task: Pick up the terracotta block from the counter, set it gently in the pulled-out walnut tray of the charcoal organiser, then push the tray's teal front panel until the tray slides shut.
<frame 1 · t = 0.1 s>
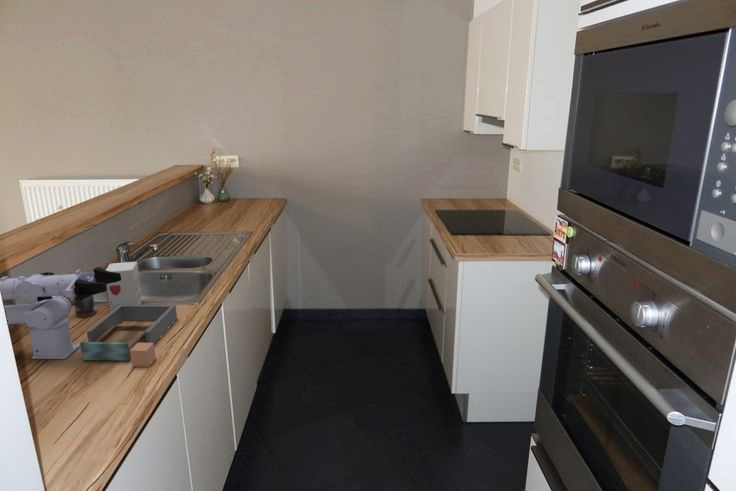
hand: (113, 281, 142), 22 cm above the table, tool horizontal, fingers open, 7 cm apart
tray: (119, 337, 152), point 3 cm above the table, slide at 8.0 cm
supplement box: (127, 307, 180), on the table
terracotta block: (144, 363, 143), on the table
organiser housing: (134, 334, 160), on the table
supplement bottle: (86, 314, 174), on the table
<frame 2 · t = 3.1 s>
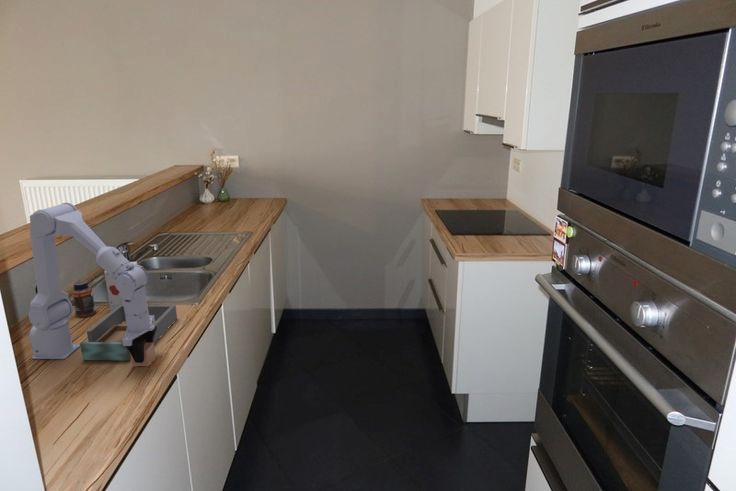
hand: (143, 357, 143), 2 cm above the table, tool pointing down, fingers closed on terracotta block, 4 cm apart
terracotta block: (144, 362, 143), on the table, touching gripper
everything else where it was.
when the fingers open (4 cm above the table, at t = 7.0 s): terracotta block moves 1 cm, resting on tray.
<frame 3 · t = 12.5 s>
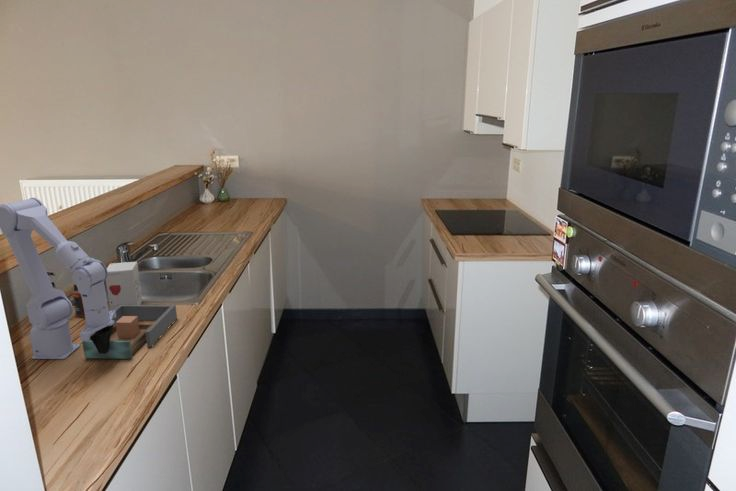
hand: (103, 352, 143), 3 cm above the table, tool pointing down, fingers closed
tray: (121, 336, 153), point 3 cm above the table, slide at 6.9 cm, touching gripper, terracotta block
terracotta block: (129, 334, 157), point 1 cm above the table, touching tray
everything else where it was.
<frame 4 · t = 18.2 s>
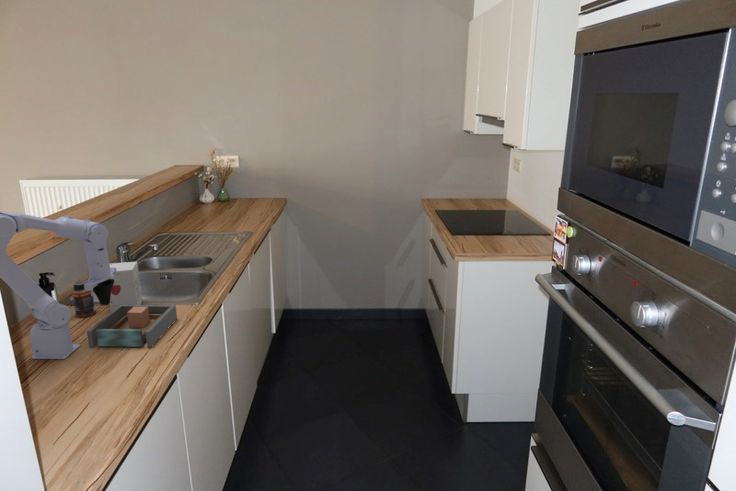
hand: (105, 304, 159), 9 cm above the table, tool pointing down, fingers closed
tray: (132, 325, 159), point 3 cm above the table, slide at 0.0 cm, touching terracotta block
terracotta block: (139, 324, 164), point 1 cm above the table, touching tray
everything else where it was.
at the end: tray slide at 0.0 cm; terracotta block inside the target area on the organiser housing (1.8 cm from its centre), point 1.3 cm above the organiser housing's base; terracotta block tilted 0° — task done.
